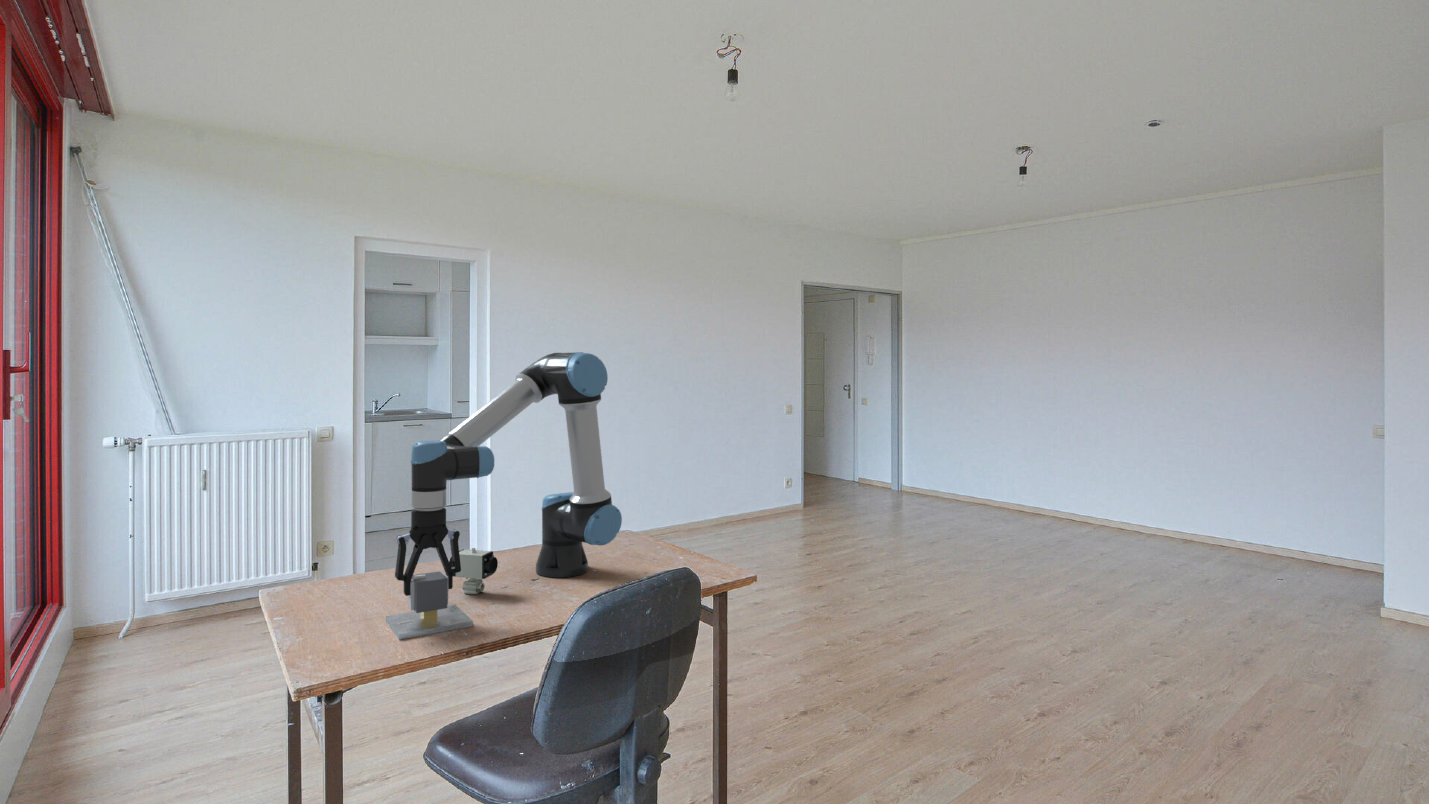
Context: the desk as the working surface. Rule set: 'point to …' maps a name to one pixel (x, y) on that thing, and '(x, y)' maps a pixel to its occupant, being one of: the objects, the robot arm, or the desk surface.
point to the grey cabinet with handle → (430, 591)
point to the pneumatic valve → (475, 569)
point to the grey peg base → (428, 622)
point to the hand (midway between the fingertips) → (428, 605)
